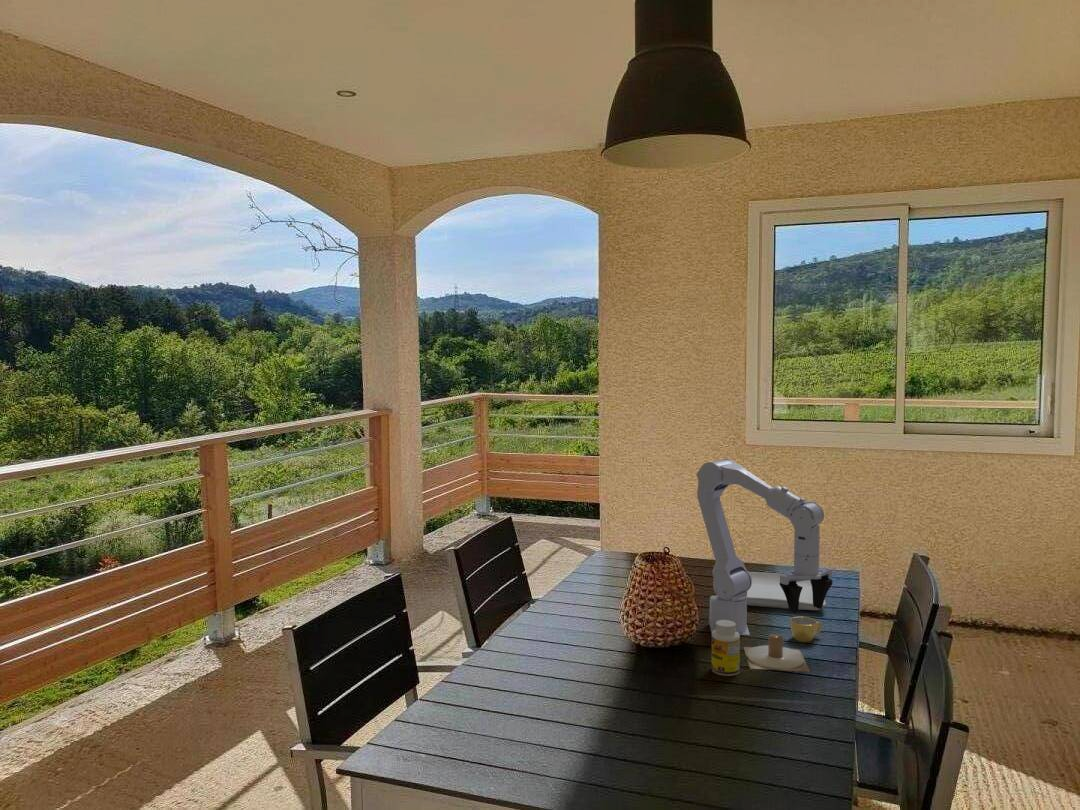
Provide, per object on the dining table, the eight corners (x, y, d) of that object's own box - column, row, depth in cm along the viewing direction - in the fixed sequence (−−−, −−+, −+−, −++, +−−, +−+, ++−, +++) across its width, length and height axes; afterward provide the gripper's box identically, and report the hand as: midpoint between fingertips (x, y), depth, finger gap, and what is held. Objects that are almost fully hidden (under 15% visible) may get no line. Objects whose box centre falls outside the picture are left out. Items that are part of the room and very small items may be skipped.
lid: (750, 668, 172) (751, 645, 172) (744, 647, 185) (744, 625, 184) (808, 671, 170) (809, 647, 170) (798, 650, 183) (798, 628, 183)
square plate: (724, 608, 217) (724, 594, 217) (729, 581, 243) (729, 569, 243) (826, 616, 209) (826, 602, 209) (820, 588, 235) (820, 575, 235)
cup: (796, 653, 183) (796, 631, 183) (768, 636, 194) (769, 615, 194) (839, 648, 186) (840, 626, 186) (810, 631, 198) (810, 610, 197)
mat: (749, 671, 172) (749, 668, 172) (743, 649, 185) (743, 646, 185) (810, 674, 170) (810, 671, 170) (799, 652, 183) (799, 649, 183)
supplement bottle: (706, 669, 174) (706, 620, 173) (730, 665, 175) (730, 617, 175) (720, 679, 168) (720, 629, 167) (745, 676, 170) (745, 626, 169)
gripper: (795, 561, 176) (794, 619, 177) (842, 554, 182) (841, 610, 183) (773, 554, 182) (773, 610, 183) (819, 547, 188) (818, 601, 189)
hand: (805, 609), depth 183 cm, fingers open, 7 cm apart
